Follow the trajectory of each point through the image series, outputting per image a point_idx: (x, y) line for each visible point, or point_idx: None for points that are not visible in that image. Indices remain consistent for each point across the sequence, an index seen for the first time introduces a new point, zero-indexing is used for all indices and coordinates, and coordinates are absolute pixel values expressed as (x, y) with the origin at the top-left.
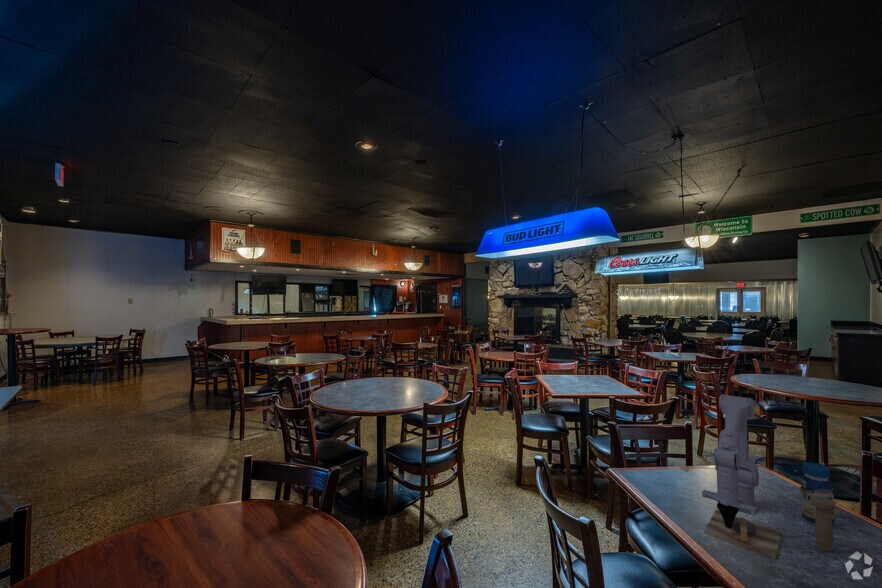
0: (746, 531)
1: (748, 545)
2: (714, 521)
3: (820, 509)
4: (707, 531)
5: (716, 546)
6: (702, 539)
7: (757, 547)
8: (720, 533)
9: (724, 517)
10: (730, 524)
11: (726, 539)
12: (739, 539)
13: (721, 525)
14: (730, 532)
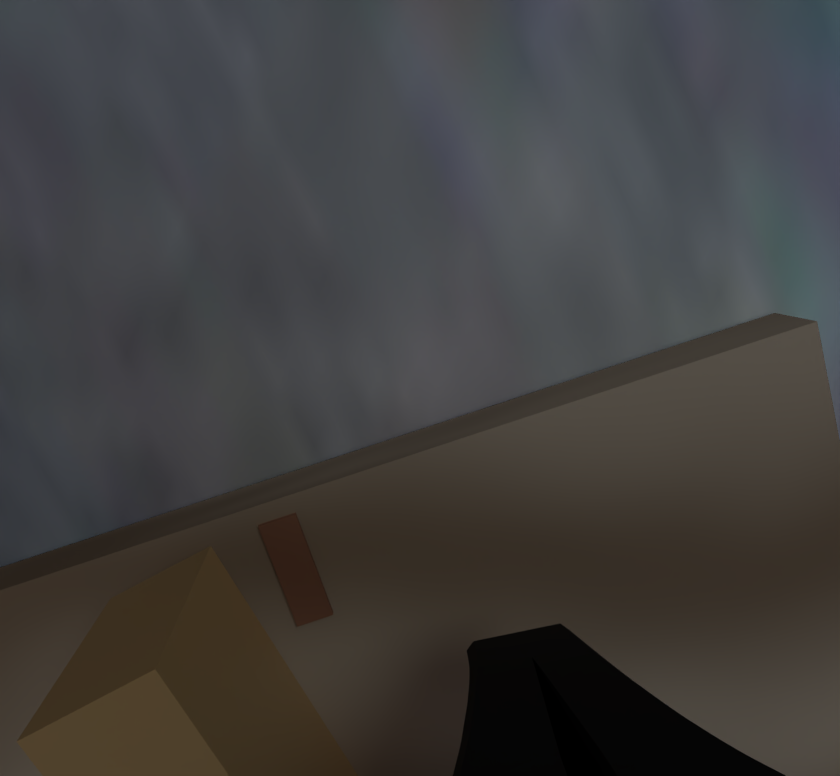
0: (27, 733)
1: (115, 560)
2: (832, 769)
3: None
4: (756, 335)
5: (443, 55)
6: (696, 43)
7: (7, 647)
8: (582, 471)
9: (661, 754)
10: (468, 702)
11: (450, 429)
12: (297, 596)
13: None
14: None
